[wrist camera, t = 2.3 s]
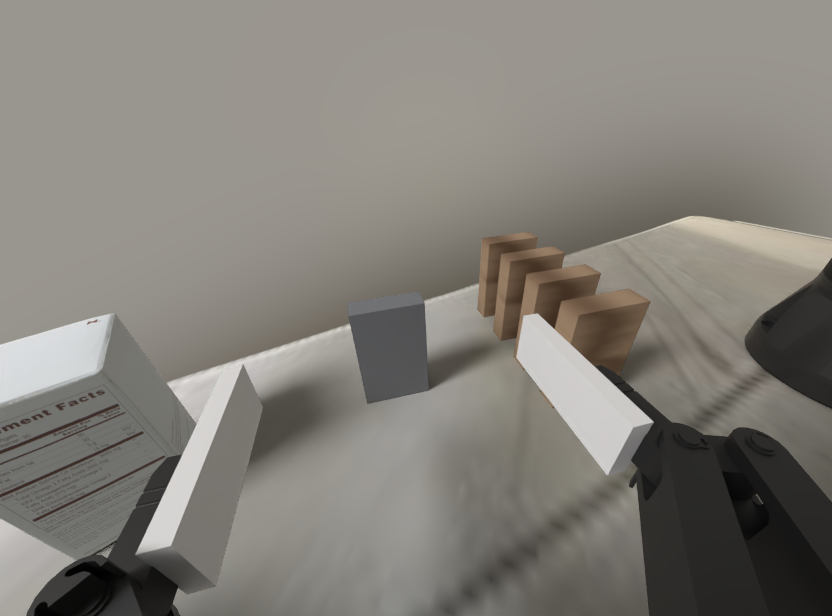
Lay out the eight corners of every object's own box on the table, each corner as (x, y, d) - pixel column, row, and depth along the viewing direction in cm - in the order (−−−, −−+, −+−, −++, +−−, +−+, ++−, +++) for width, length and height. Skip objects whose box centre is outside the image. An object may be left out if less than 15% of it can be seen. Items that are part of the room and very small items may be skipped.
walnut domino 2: (537, 322, 37) (553, 246, 32) (547, 331, 36) (564, 253, 30) (493, 330, 36) (501, 254, 31) (500, 340, 35) (510, 261, 29)
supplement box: (93, 474, 24) (-48, 354, 17) (200, 424, 27) (118, 308, 20) (74, 568, 19) (-141, 450, 12) (208, 491, 22) (102, 366, 15)
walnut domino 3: (563, 346, 33) (585, 264, 28) (574, 358, 32) (601, 273, 26) (513, 357, 32) (526, 273, 27) (523, 369, 31) (539, 283, 25)
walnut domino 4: (595, 378, 29) (628, 288, 24) (611, 393, 27) (650, 301, 22) (539, 391, 28) (561, 301, 23) (552, 407, 27) (579, 314, 21)
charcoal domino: (423, 375, 31) (418, 291, 25) (428, 390, 29) (424, 303, 24) (365, 388, 30) (347, 303, 24) (367, 403, 28) (348, 316, 23)
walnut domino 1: (518, 302, 42) (528, 231, 36) (525, 309, 40) (537, 237, 35) (477, 309, 41) (482, 238, 35) (483, 317, 39) (489, 244, 34)
